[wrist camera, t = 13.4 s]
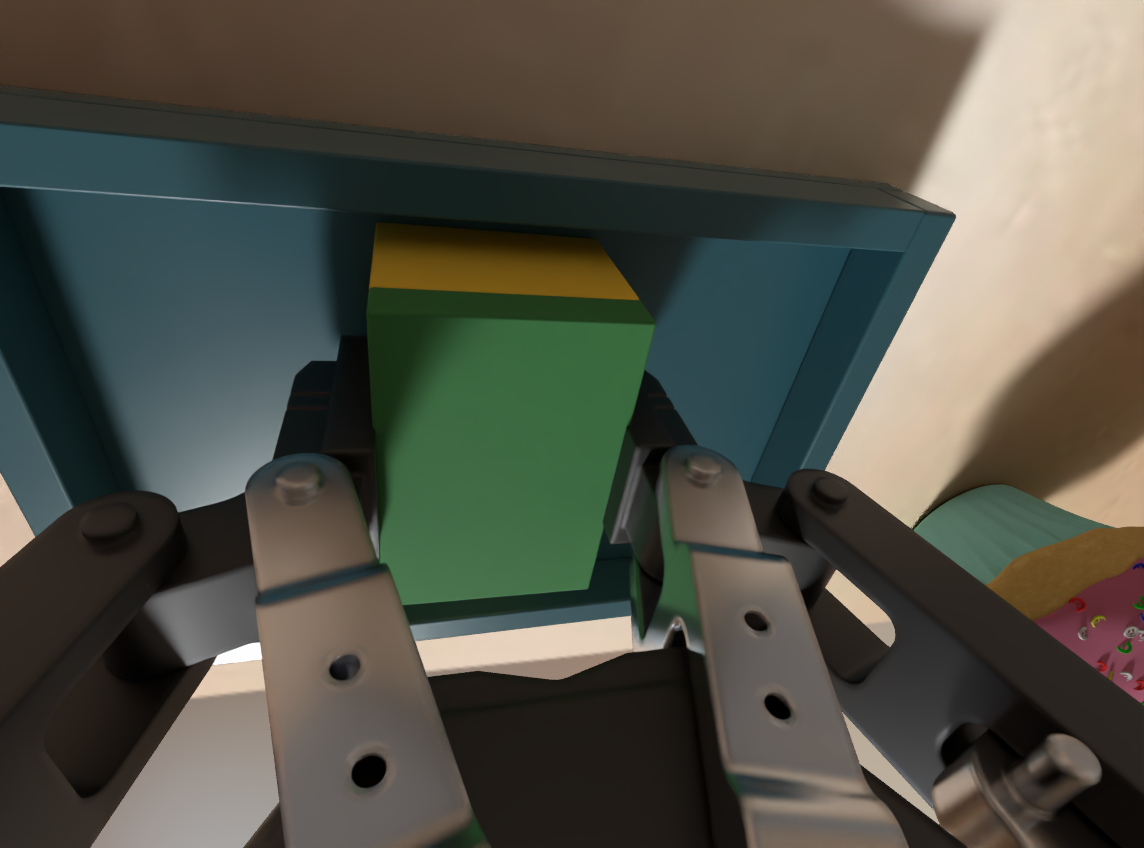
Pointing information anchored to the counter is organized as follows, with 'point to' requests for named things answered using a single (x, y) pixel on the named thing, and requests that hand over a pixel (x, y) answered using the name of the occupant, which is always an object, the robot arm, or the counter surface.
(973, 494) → the cupcake
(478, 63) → the counter surface
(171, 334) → the tray
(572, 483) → the sponge
